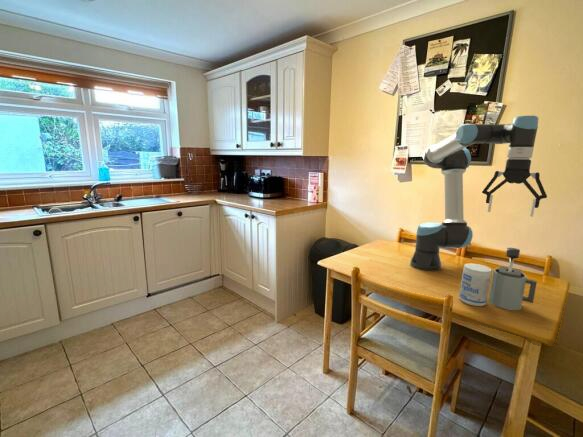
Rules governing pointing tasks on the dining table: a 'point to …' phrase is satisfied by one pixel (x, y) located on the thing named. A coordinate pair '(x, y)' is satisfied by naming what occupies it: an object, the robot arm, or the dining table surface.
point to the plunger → (512, 256)
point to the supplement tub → (475, 284)
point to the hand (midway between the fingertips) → (509, 213)
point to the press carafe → (510, 288)
